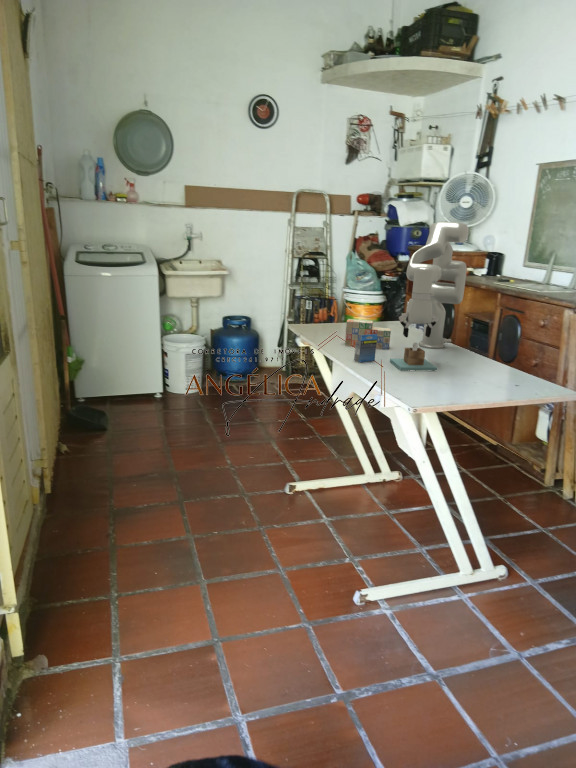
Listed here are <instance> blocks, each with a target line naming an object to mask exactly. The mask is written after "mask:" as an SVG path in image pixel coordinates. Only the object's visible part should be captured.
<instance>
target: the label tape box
mask: <svg viewBox="0 0 576 768" xmlns="http://www.w3.org/2000/svg"><path fill="white" fill-rule="evenodd" d="M367 337H372V338H370V339H367ZM376 345H377V334H370V335H361V341H358V342H356V346H354V349H355V350H354V358H353V360H354V362H357V363H364V362H372V361H375V360H376V359H375V358H376V351H377V348H376Z"/></svg>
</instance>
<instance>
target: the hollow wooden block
mask: <svg viewBox="0 0 576 768" xmlns="http://www.w3.org/2000/svg"><path fill="white" fill-rule="evenodd" d="M412 348H413V347H404V353H403V359H404V362H406V363H407V364H408V365H424V359H425V356H426V351H425V350H424V349H422V348H421V347H417V351H412Z"/></svg>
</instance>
